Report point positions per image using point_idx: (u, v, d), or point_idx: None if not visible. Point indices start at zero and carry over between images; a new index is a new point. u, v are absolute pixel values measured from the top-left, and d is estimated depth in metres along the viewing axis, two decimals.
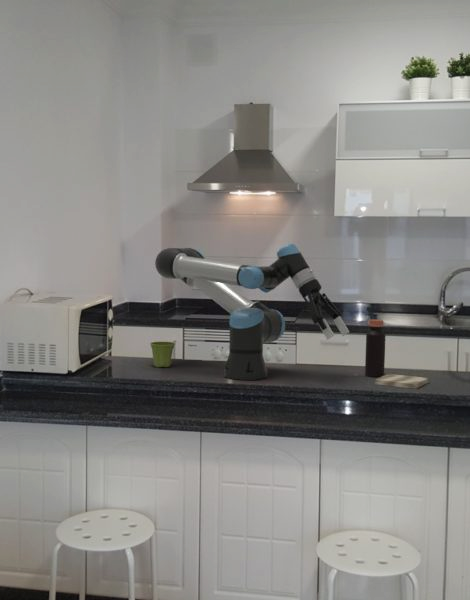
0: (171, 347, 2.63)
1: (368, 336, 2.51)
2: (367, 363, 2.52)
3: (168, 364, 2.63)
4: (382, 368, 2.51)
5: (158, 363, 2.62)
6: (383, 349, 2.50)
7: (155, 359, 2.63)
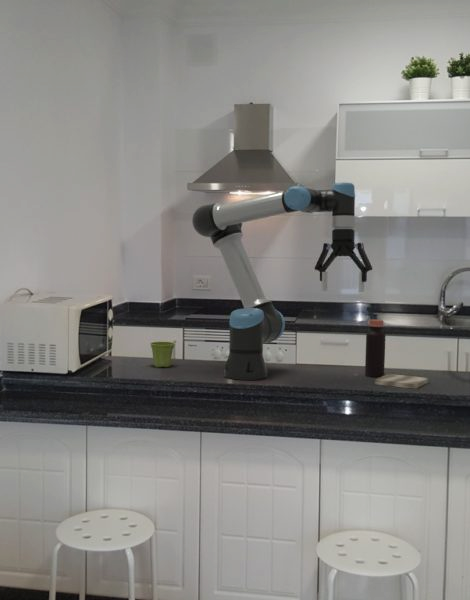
0: (171, 347, 2.63)
1: (368, 336, 2.51)
2: (367, 363, 2.52)
3: (168, 364, 2.63)
4: (382, 368, 2.51)
5: (158, 363, 2.62)
6: (383, 349, 2.50)
7: (155, 359, 2.63)
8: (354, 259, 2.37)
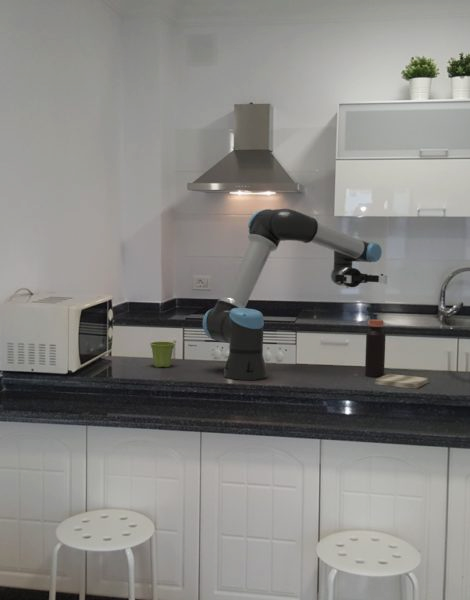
0: (171, 347, 2.63)
1: (368, 336, 2.51)
2: (367, 363, 2.52)
3: (168, 364, 2.63)
4: (382, 368, 2.51)
5: (158, 363, 2.62)
6: (383, 349, 2.50)
7: (155, 359, 2.63)
8: (370, 275, 2.71)
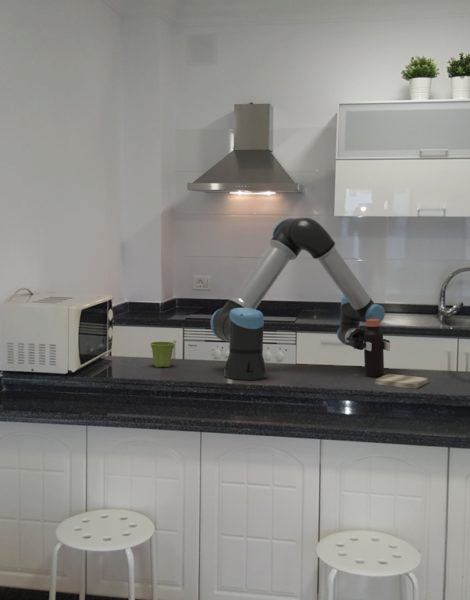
0: (171, 347, 2.63)
1: (366, 336, 2.50)
2: (366, 364, 2.51)
3: (168, 364, 2.63)
4: (381, 367, 2.51)
5: (158, 363, 2.62)
6: (381, 348, 2.50)
7: (155, 359, 2.63)
8: None
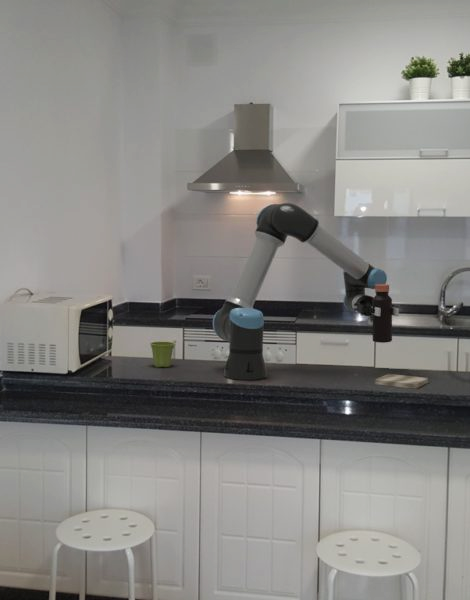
0: (171, 347, 2.63)
1: (374, 301, 2.47)
2: (374, 329, 2.49)
3: (168, 364, 2.63)
4: (390, 333, 2.48)
5: (158, 363, 2.62)
6: (390, 314, 2.47)
7: (155, 359, 2.63)
8: None
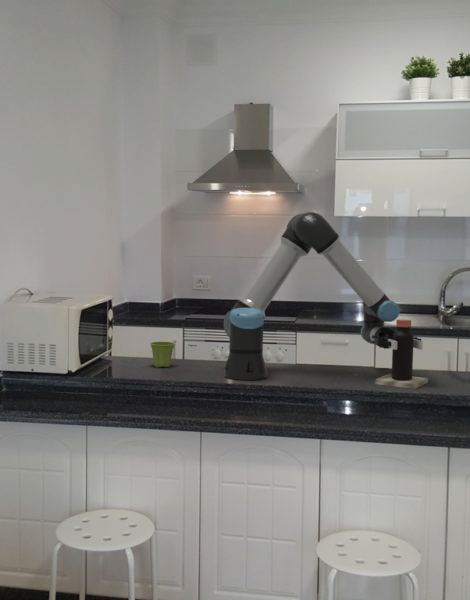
0: (171, 347, 2.63)
1: (396, 337, 2.37)
2: (394, 366, 2.38)
3: (168, 364, 2.63)
4: (410, 371, 2.37)
5: (158, 363, 2.62)
6: (411, 351, 2.37)
7: (155, 359, 2.63)
8: None
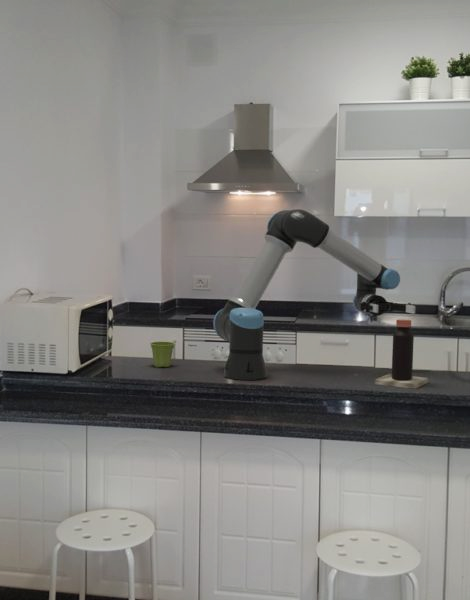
0: (171, 347, 2.63)
1: (395, 337, 2.37)
2: (394, 366, 2.38)
3: (168, 364, 2.63)
4: (410, 371, 2.37)
5: (158, 363, 2.62)
6: (411, 351, 2.37)
7: (155, 359, 2.63)
8: (396, 304, 2.58)
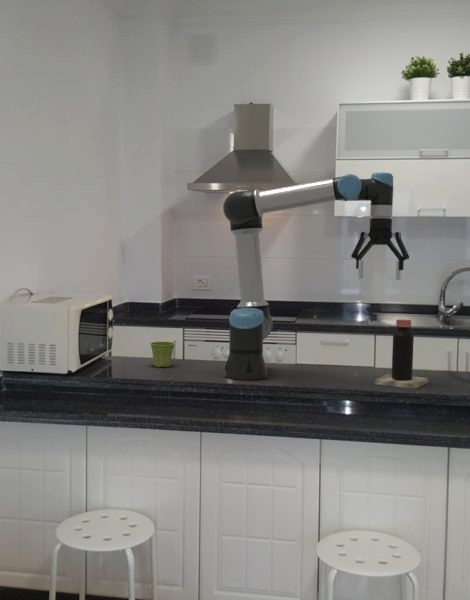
0: (171, 347, 2.63)
1: (395, 337, 2.37)
2: (394, 366, 2.38)
3: (168, 364, 2.63)
4: (410, 371, 2.37)
5: (158, 363, 2.62)
6: (411, 351, 2.37)
7: (155, 359, 2.63)
8: (392, 248, 2.43)
